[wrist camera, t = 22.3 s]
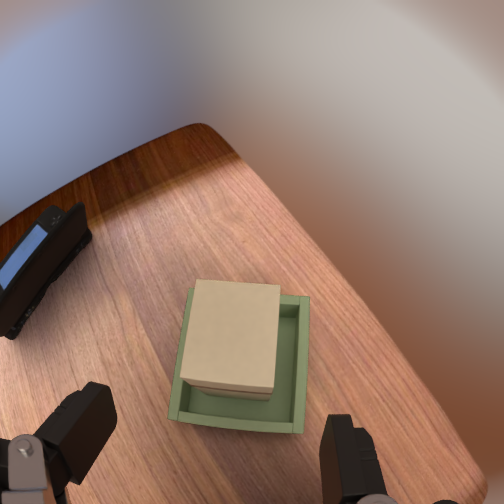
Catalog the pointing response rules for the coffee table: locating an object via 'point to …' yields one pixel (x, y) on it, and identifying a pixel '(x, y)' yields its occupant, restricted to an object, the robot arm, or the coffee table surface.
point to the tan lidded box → (232, 339)
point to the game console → (39, 263)
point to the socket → (252, 411)
